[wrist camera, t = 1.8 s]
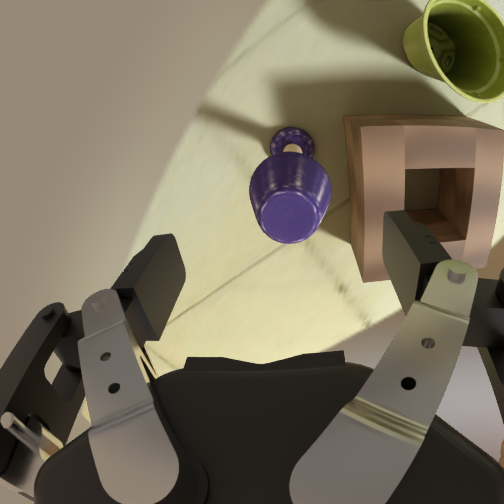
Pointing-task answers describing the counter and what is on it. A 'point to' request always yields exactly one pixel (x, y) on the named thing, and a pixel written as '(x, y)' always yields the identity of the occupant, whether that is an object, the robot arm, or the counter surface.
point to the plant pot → (460, 47)
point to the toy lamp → (290, 188)
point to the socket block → (420, 157)
